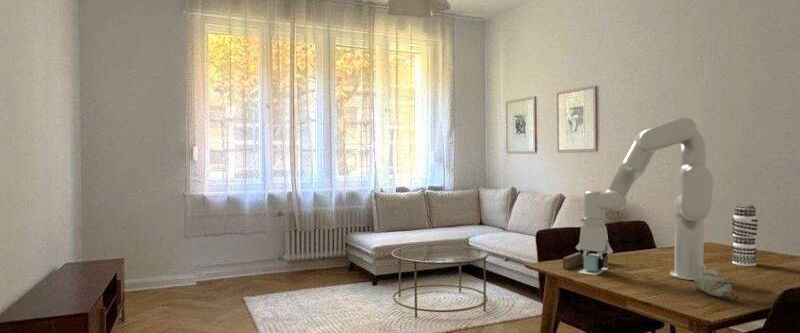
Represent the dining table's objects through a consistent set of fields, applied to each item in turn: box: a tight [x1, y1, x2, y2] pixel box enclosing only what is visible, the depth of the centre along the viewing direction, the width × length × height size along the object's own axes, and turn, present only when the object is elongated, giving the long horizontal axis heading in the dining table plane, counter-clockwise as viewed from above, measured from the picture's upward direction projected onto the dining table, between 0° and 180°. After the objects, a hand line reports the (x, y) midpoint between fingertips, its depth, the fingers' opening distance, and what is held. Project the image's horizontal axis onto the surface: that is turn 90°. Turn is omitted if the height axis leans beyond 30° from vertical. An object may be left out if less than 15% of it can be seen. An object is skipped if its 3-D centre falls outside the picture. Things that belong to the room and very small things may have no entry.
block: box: [583, 253, 599, 271], centre depth 203 cm, size 9×4×5 cm, turn 139°
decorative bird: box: [693, 275, 739, 303], centre depth 166 cm, size 5×16×7 cm, turn 10°
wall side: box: [578, 251, 609, 268], centre depth 213 cm, size 12×2×4 cm, turn 50°
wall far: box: [562, 251, 582, 270], centre depth 211 cm, size 2×16×4 cm, turn 139°
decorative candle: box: [731, 203, 759, 267], centre depth 215 cm, size 9×9×25 cm
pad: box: [577, 267, 609, 276], centre depth 203 cm, size 7×15×1 cm, turn 140°
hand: (593, 267), depth 203 cm, fingers closed on block, 4 cm apart
